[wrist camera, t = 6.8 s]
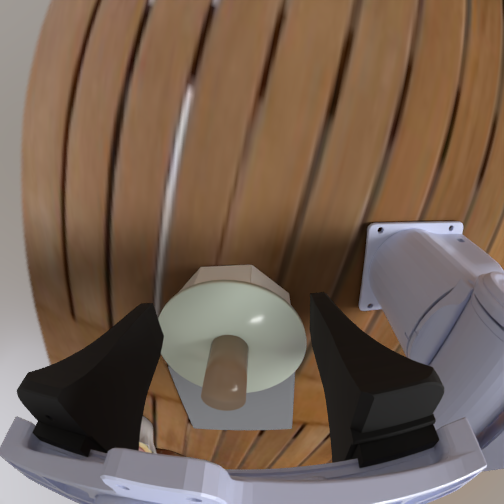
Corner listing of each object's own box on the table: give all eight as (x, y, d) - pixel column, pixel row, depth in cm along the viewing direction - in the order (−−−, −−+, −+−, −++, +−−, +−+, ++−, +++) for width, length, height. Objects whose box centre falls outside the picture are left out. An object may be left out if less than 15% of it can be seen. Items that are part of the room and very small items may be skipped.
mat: (294, 363, 28) (295, 366, 27) (291, 426, 33) (291, 428, 33) (168, 363, 28) (168, 366, 28) (194, 425, 34) (193, 428, 34)
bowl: (288, 262, 23) (292, 282, 20) (288, 352, 27) (291, 375, 24) (166, 268, 23) (155, 287, 21) (189, 354, 27) (183, 376, 25)
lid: (327, 297, 20) (344, 351, 15) (281, 396, 26) (283, 445, 21) (160, 263, 20) (131, 311, 15) (157, 372, 25) (141, 419, 20)
